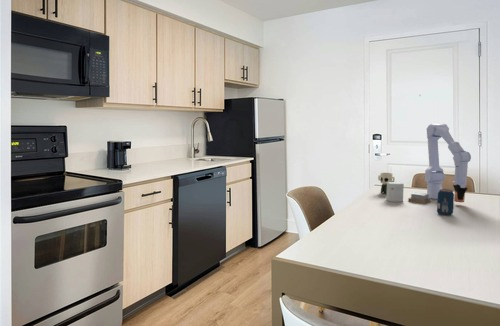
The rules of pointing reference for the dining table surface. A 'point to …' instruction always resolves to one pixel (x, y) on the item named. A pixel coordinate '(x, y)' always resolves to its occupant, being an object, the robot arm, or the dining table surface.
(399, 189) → the small box
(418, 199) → the walnut base slab
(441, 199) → the soda can
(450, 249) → the dining table surface
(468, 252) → the dining table surface
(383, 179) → the big headed toy figurine
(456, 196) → the orange round piece
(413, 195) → the grey top slab
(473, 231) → the dining table surface
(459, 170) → the robot arm
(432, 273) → the dining table surface
